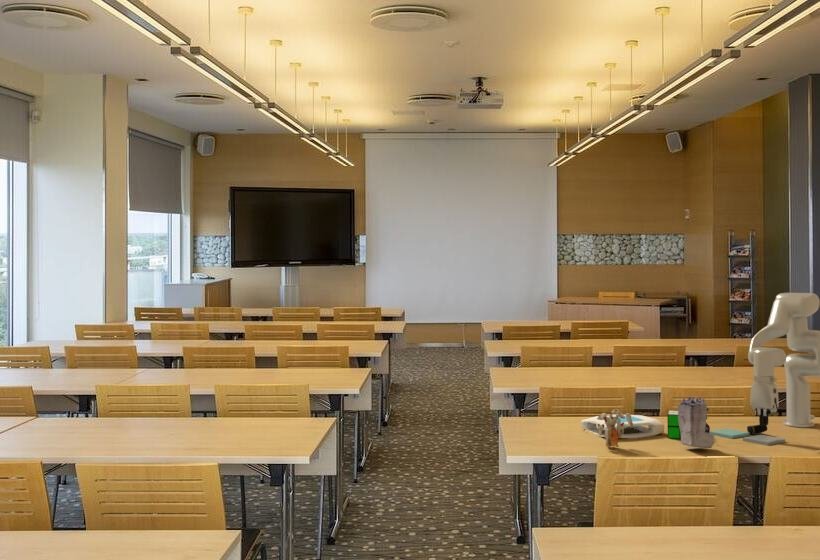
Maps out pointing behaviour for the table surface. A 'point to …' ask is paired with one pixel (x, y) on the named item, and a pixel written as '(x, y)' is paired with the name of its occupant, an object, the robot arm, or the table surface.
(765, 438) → the slate board
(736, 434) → the teal board
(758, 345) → the robot arm
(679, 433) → the puzzle cube
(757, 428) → the tape measure
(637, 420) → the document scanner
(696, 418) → the cell model
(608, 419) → the voxel character
